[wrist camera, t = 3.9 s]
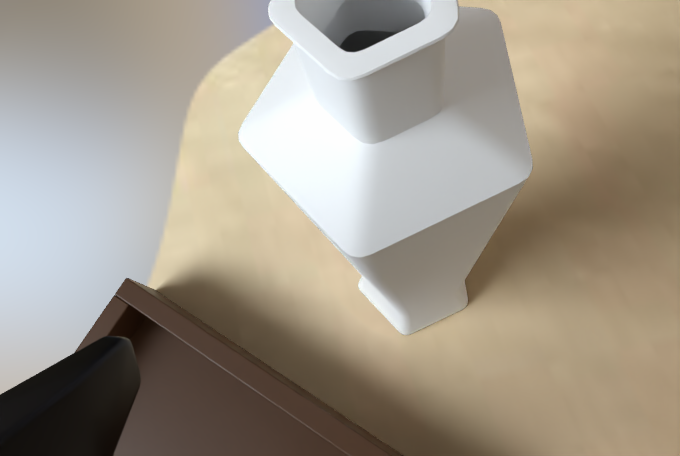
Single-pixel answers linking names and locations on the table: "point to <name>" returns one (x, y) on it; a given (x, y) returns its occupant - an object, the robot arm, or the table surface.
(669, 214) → the table surface
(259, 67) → the table surface
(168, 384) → the tray
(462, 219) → the perfume bottle
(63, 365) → the robot arm
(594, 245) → the table surface
